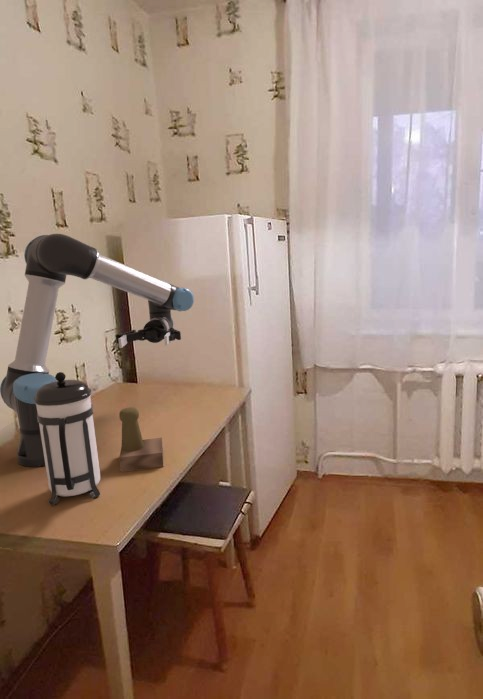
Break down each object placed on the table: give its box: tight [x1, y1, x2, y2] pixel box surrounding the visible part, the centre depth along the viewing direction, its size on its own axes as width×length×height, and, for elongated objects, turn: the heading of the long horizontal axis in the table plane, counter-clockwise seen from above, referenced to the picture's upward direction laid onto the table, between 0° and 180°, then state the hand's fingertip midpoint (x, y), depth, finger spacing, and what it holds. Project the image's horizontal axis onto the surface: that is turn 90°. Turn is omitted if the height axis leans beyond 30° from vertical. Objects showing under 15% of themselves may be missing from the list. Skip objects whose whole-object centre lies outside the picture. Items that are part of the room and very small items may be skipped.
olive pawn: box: [118, 406, 144, 452], centre depth 136 cm, size 6×6×11 cm
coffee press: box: [34, 371, 101, 506], centre depth 118 cm, size 17×16×30 cm
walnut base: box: [118, 437, 164, 473], centre depth 138 cm, size 11×11×4 cm
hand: (142, 342), depth 148 cm, fingers open, 13 cm apart
